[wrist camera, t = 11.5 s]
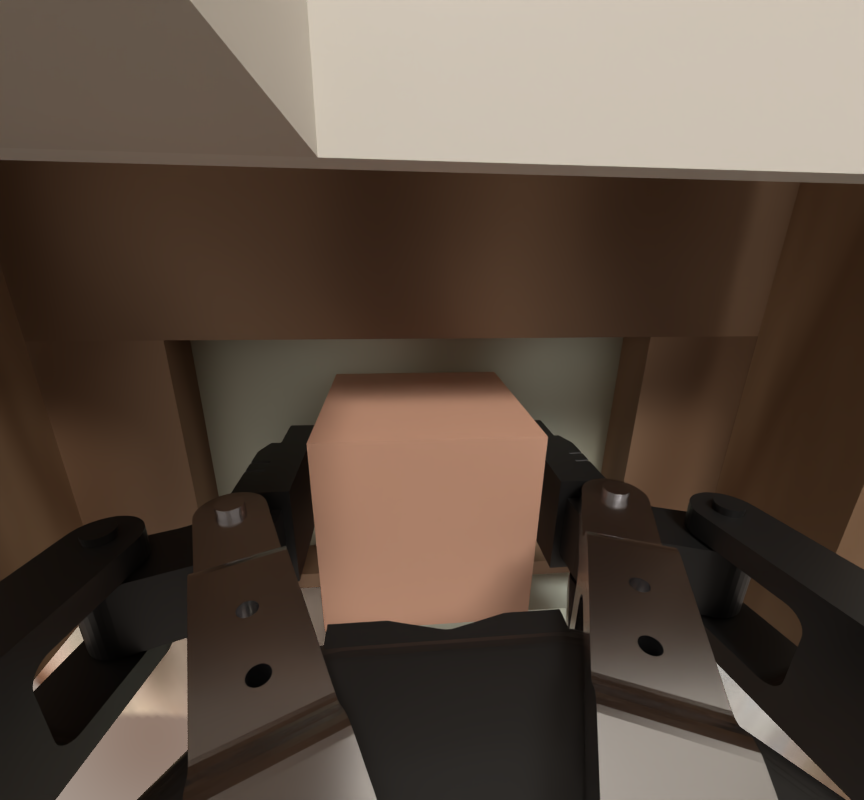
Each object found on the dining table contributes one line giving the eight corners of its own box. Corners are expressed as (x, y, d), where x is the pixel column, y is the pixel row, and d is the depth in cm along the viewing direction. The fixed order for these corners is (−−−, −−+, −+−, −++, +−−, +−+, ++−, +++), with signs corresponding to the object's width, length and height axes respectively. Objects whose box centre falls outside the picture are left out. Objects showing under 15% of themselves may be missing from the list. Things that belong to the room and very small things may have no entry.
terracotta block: (494, 371, 12) (548, 436, 8) (485, 504, 14) (527, 618, 10) (336, 373, 12) (306, 443, 8) (345, 510, 13) (325, 631, 9)
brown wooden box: (838, -220, 10) (1548, -957, 4) (668, 510, 17) (827, 661, 11) (-110, -334, 8) (-1597, -2059, 2) (129, 534, 15) (-52, 733, 9)
